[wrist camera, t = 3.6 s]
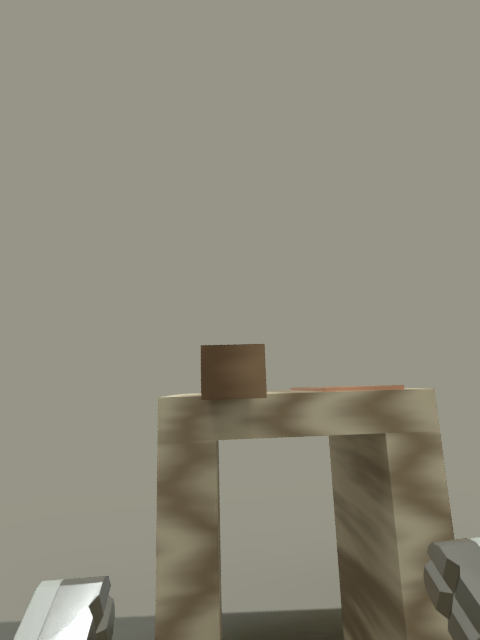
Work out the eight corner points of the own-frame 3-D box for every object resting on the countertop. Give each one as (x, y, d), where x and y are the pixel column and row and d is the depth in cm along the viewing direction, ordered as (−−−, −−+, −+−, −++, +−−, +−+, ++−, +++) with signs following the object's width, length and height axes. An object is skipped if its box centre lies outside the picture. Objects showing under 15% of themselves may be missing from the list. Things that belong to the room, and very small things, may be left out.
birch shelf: (152, 870, 20) (158, 393, 25) (180, 673, 34) (180, 391, 39) (493, 833, 21) (433, 384, 26) (385, 657, 35) (360, 385, 40)
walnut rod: (190, 400, 16) (190, 345, 17) (207, 393, 38) (207, 369, 38) (277, 397, 16) (274, 343, 17) (245, 392, 38) (244, 368, 38)
